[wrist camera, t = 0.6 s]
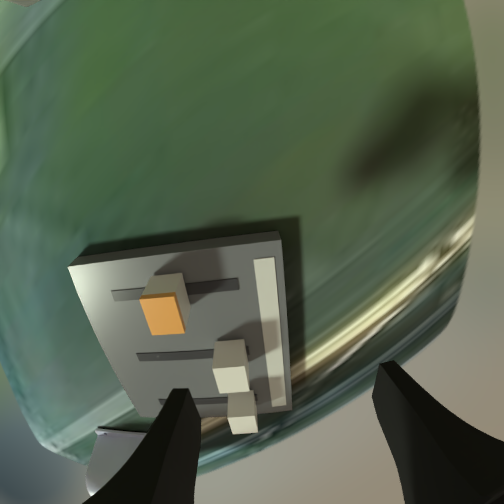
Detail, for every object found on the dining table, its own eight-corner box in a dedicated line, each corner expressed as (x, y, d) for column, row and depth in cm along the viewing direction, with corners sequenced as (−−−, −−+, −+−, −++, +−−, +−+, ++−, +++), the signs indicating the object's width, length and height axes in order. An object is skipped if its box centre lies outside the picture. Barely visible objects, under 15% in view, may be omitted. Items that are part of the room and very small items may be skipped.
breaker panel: (143, 405, 26) (135, 440, 22) (77, 257, 19) (47, 287, 15) (290, 397, 26) (296, 435, 22) (278, 230, 19) (287, 261, 15)
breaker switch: (161, 309, 19) (152, 335, 17) (150, 276, 18) (139, 299, 16) (190, 307, 19) (184, 333, 17) (181, 272, 18) (173, 296, 16)
